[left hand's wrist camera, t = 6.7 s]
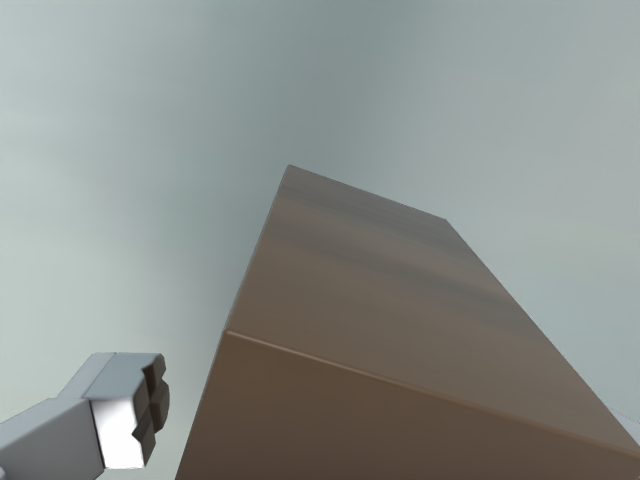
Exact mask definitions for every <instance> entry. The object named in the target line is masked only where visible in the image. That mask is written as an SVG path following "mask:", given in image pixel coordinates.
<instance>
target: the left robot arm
mask: <svg viewBox="0 0 640 480" xmlns="http://www.w3.org/2000/svg"><path fill="white" fill-rule="evenodd" d="M165 370H166V366H165V361H164V357H163V356H162V355H161V354H159V353H94V354H92V355H91V356H90V357H89V358H88V359H87V360H86V362H85V363H84V364H83V365H82V367H81V368H80V369H79V370H78V371H77V373H76V374H75V375H74V376H73V378H72V379H71V380H70V381H69V382H68V384H67V385H66V386H65V387H64V389H63V390H62V391H61V392H60V393H59V395H58V396H57V397H56V398H48V399H46V400H44V401H43V402H41V403H39V404H37V405H35V406H33V407H31V408H29V409H27V410H25V411H23V412H22V413H20V414H18V415H16V416H14V417H12V418H10V419H8V420H6V421H4V422H2V423H1V424H0V480H95V479H96V478H97V477H99V476H100V475H101V474H102V473H103V472H104V469H137V468H145V467H146V464H147V462H148V460H149V458H150V455H151V453H152V451H153V449H154V447H155V444H156V442H155V435H154V434H155V433H157V432H158V431H159V430H161V429H162V428H163V426H164V424H165V421H166V419H167V415H168V410H169V397H170V394H169V387H168V385H167V384H166V383H165V382H164V381H163V380H162V376H163V374H164V372H165ZM606 407H607V406H606ZM607 408H608V409H609V411H610V412H611V413H612V414H613V415H614V416H615V418H616V419H617V420H618V421H619V422H620V423H621V425H622V426H623V427H624V428H625V429H626V430H627V432H628V433H629V434H630V435H631V436H632V437H633V439H634V440H635V441H636V442H637V443H638V444H639V446H640V424H639V423H638V422H636V421H634V420H632V419H630V418H628V417H626V416H624V415H622V414H620V413H618V412H617V411H615V410H613V409H611V408H609V407H607ZM637 480H640V477H639V478H638V479H637Z"/></svg>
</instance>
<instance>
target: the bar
mask: <svg viewBox="0 0 640 480" xmlns="http://www.w3.org/2000/svg"><path fill="white" fill-rule="evenodd" d="M639 477H640V446H639V444H638V443H637V442H636V441H635V440H634V439H633V437H632V436H631V435H630V434H629V433H628V432H627V430H626V429H625V428H624V427H623V426H622V425H621V423H620V422H619V421H618V420H617V419H616V418H615V416H614V415H613V414H612V413H611V412H610V411H609V409H608V408H607V407H606V406H605V405H604V404H603V402H602V401H601V400H600V399H599V398H598V397H597V395H596V394H595V393H594V392H593V391H592V390H591V388H590V387H589V386H588V385H587V384H586V383H585V381H584V380H583V379H582V378H581V377H580V375H579V374H578V373H577V372H576V371H575V370H574V368H573V367H572V366H571V365H570V364H569V363H568V361H567V360H566V359H565V358H564V357H563V356H562V354H561V353H560V352H559V351H558V350H557V349H556V347H555V346H554V345H553V344H552V343H551V342H550V340H549V339H548V338H547V337H546V336H545V335H544V333H543V332H542V331H541V330H540V329H539V328H538V326H537V325H536V324H535V323H534V322H533V321H532V319H531V318H530V317H529V316H528V315H527V314H526V312H525V311H524V310H523V309H522V308H521V307H520V305H519V304H518V303H517V302H516V301H515V300H514V298H513V297H512V296H511V295H510V294H509V293H508V291H507V290H506V289H505V288H504V287H503V286H502V284H501V283H500V282H499V281H498V280H497V279H496V277H495V276H494V275H493V274H492V273H491V271H490V270H489V269H488V268H487V267H486V266H485V264H484V263H483V262H482V261H481V260H480V259H479V257H478V256H477V255H476V254H475V253H474V252H473V250H472V249H471V248H470V247H469V246H468V245H467V243H466V242H465V241H464V240H463V239H462V238H461V236H460V235H459V234H458V233H457V232H456V231H455V229H454V228H453V227H452V226H451V225H450V224H449V222H448V221H447V220H446V219H443V218H440V217H437V216H435V215H432V214H429V213H426V212H423V211H420V210H417V209H415V208H412V207H409V206H406V205H403V204H400V203H398V202H395V201H392V200H389V199H386V198H383V197H380V196H378V195H375V194H372V193H369V192H366V191H363V190H360V189H358V188H355V187H352V186H349V185H346V184H343V183H341V182H338V181H335V180H332V179H329V178H326V177H323V176H321V175H318V174H315V173H312V172H309V171H306V170H303V169H301V168H298V167H295V166H292V165H288V166H287V168H286V170H285V173H284V176H283V178H282V181H281V183H280V186H279V188H278V191H277V193H276V196H275V199H274V201H273V204H272V206H271V209H270V211H269V214H268V216H267V219H266V221H265V224H264V227H263V229H262V232H261V234H260V237H259V239H258V242H257V244H256V247H255V250H254V252H253V255H252V257H251V260H250V262H249V265H248V267H247V270H246V272H245V275H244V278H243V280H242V283H241V285H240V288H239V290H238V293H237V295H236V298H235V301H234V303H233V306H232V308H231V311H230V313H229V316H228V318H227V321H226V323H225V326H224V329H223V331H222V334H221V337H220V340H219V343H218V347H217V350H216V353H215V356H214V359H213V362H212V365H211V368H210V372H209V375H208V378H207V381H206V384H205V387H204V390H203V393H202V396H201V400H200V403H199V406H198V409H197V412H196V415H195V418H194V421H193V424H192V428H191V431H190V434H189V437H188V440H187V443H186V446H185V449H184V452H183V456H182V459H181V462H180V465H179V468H178V471H177V474H176V477H175V480H637V479H638V478H639Z"/></svg>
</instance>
